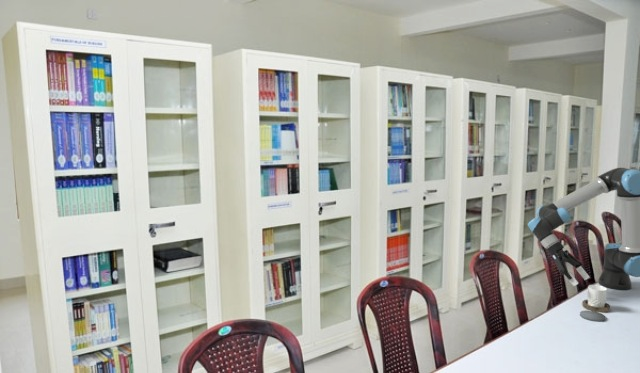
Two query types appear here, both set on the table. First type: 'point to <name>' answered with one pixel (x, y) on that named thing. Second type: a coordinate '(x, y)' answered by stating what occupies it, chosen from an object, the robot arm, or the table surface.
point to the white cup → (597, 295)
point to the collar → (596, 309)
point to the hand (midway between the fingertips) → (582, 281)
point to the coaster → (592, 316)
